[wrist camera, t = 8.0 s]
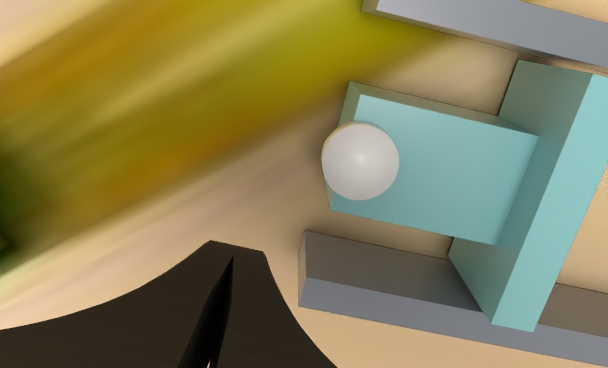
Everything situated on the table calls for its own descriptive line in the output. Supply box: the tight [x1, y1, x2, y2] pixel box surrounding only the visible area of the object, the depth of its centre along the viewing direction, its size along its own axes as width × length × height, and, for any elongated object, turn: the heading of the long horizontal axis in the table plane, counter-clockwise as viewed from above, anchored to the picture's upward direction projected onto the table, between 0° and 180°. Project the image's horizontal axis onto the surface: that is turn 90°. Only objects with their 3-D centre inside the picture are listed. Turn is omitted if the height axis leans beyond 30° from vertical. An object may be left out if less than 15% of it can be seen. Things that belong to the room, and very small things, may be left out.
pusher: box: [321, 60, 608, 332], centre depth 17 cm, size 8×8×5 cm
